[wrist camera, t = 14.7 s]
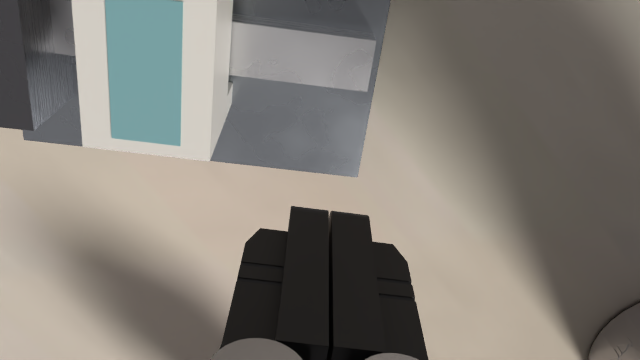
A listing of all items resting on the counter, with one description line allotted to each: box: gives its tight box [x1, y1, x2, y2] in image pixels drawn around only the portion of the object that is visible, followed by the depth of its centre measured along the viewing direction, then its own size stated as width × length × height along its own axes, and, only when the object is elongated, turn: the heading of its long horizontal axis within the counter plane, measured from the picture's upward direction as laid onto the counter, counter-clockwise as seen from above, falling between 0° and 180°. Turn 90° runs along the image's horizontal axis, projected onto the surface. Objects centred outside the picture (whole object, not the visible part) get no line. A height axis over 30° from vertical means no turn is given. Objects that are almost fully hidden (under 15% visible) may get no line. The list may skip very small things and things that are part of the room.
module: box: [71, 0, 233, 162], centre depth 21 cm, size 4×6×6 cm
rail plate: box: [0, 0, 391, 177], centre depth 22 cm, size 16×12×5 cm
